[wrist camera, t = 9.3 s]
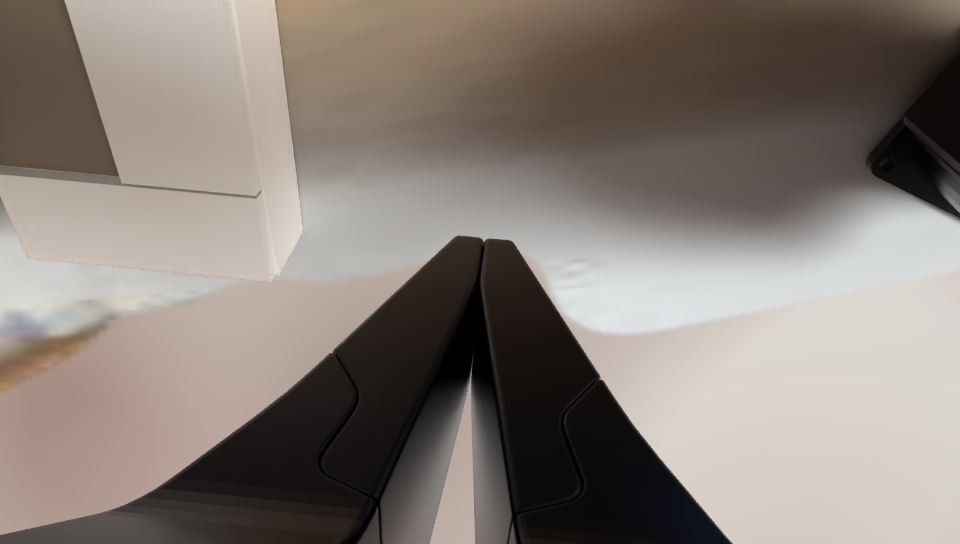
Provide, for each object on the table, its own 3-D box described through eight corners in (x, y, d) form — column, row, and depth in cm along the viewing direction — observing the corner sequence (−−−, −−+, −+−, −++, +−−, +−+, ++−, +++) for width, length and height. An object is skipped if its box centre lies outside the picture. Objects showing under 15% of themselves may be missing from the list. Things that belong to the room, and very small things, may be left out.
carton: (249, -208, 17) (191, -210, 14) (303, 233, 25) (274, 286, 23) (-79, -234, 17) (-201, -242, 14) (83, 212, 26) (27, 262, 23)
